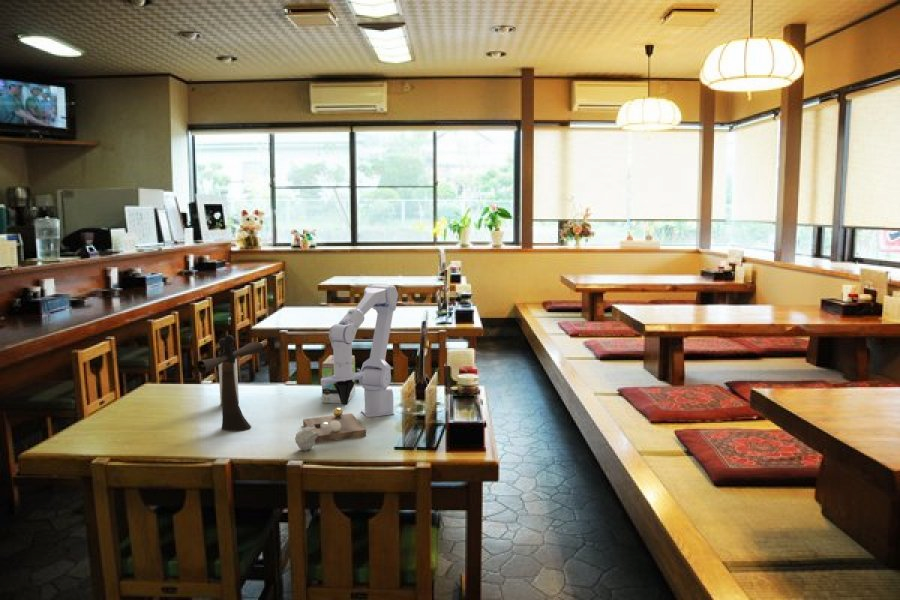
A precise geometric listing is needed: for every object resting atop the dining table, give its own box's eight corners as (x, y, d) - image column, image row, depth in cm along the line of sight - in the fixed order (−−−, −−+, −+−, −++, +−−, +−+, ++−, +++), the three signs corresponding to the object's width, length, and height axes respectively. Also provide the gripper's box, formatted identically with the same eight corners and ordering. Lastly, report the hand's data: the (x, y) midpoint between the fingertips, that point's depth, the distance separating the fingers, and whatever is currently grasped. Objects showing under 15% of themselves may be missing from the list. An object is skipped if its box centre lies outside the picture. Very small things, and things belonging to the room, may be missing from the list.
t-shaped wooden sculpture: (250, 412, 228) (246, 326, 224) (275, 414, 225) (271, 327, 221) (192, 442, 198) (186, 344, 194) (220, 445, 195) (215, 345, 191)
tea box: (349, 403, 238) (348, 363, 236) (321, 403, 238) (320, 363, 236) (356, 392, 253) (355, 354, 251) (329, 392, 253) (328, 354, 251)
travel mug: (243, 403, 238) (240, 348, 236) (228, 408, 233) (225, 352, 230) (231, 400, 242) (229, 347, 239) (216, 405, 236) (213, 350, 233)
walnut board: (351, 419, 220) (351, 413, 219) (366, 435, 203) (366, 429, 203) (303, 425, 214) (303, 419, 213) (313, 443, 197) (313, 436, 197)
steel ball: (320, 435, 206) (329, 431, 208) (324, 432, 204) (333, 428, 206) (316, 425, 207) (325, 422, 209) (320, 422, 205) (329, 419, 207)
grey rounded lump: (308, 455, 187) (307, 431, 186) (290, 451, 191) (289, 427, 190) (323, 449, 192) (322, 425, 191) (305, 444, 196) (304, 422, 195)
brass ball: (341, 414, 218) (341, 406, 217) (343, 417, 215) (343, 408, 214) (332, 416, 216) (332, 407, 216) (334, 418, 214) (334, 409, 213)
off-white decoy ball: (339, 429, 204) (339, 418, 203) (342, 432, 200) (341, 421, 200) (328, 430, 202) (328, 419, 202) (331, 433, 199) (330, 423, 199)
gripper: (358, 356, 214) (359, 397, 216) (316, 362, 206) (317, 405, 208) (368, 360, 208) (369, 402, 210) (325, 367, 200) (326, 410, 202)
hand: (344, 404), depth 209 cm, fingers closed
